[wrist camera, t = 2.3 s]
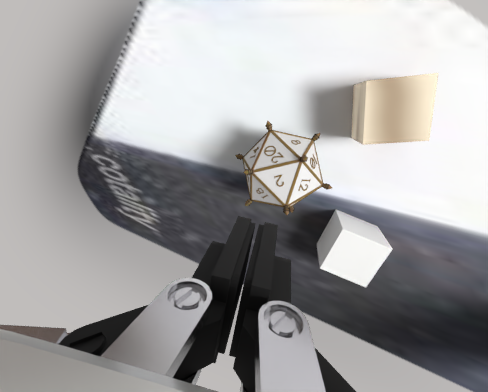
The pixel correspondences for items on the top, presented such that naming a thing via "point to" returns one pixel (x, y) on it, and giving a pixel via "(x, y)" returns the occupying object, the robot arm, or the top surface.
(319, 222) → the top surface
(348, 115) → the top surface
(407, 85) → the ash block
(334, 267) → the white block
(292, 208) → the game die
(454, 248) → the top surface
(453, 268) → the top surface
